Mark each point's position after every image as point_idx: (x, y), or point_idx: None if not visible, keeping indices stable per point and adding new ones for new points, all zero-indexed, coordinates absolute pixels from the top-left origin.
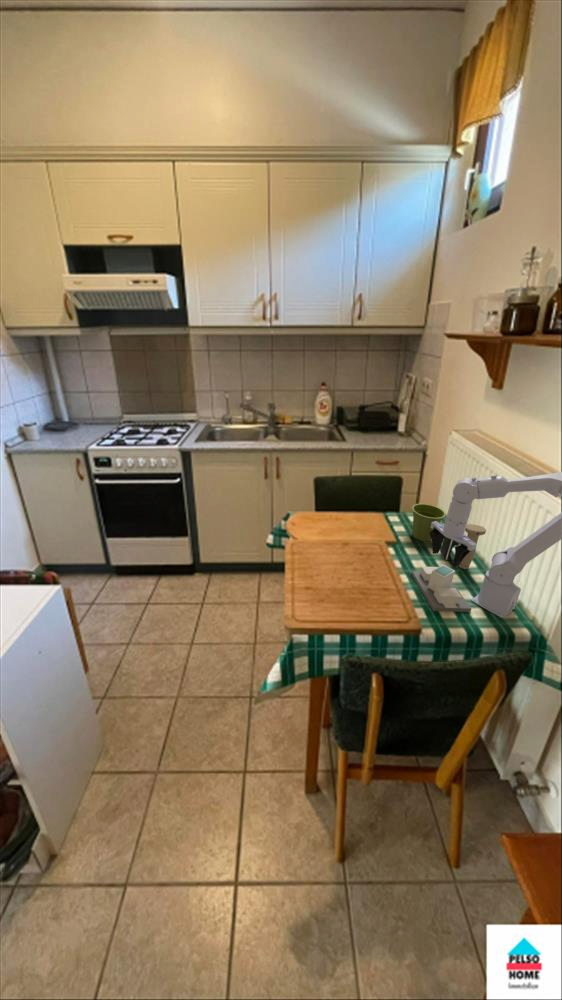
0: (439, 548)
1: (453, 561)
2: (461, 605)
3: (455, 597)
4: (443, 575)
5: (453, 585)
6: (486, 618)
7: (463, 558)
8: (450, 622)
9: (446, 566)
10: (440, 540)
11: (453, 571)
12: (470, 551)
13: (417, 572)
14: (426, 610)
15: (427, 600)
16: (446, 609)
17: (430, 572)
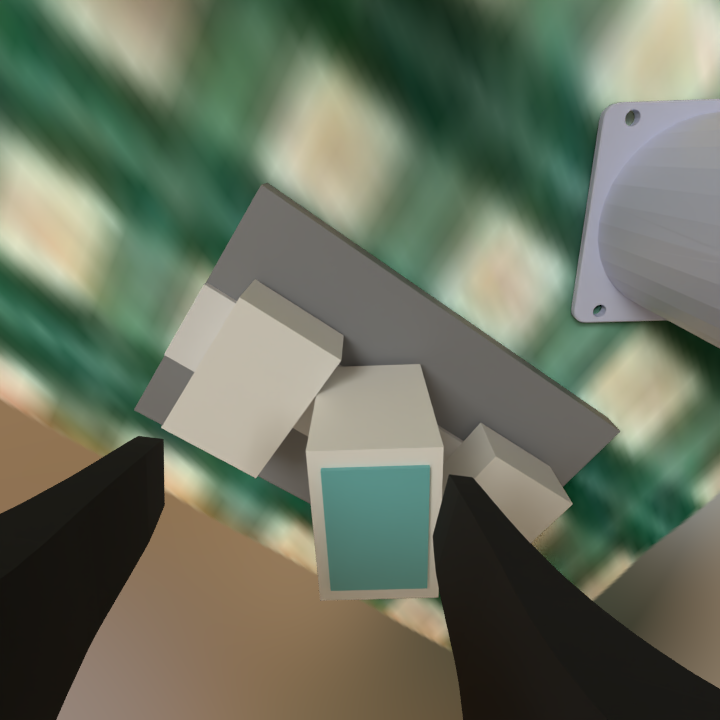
0: (133, 482)
1: (443, 601)
2: (560, 455)
3: (539, 526)
4: (418, 586)
5: (415, 303)
6: (703, 390)
7: (533, 550)
8: (559, 566)
9: (347, 453)
10: (47, 609)
11: (438, 469)
12: (685, 676)
13: (165, 393)
14: None
15: None
16: None
17: (258, 439)
